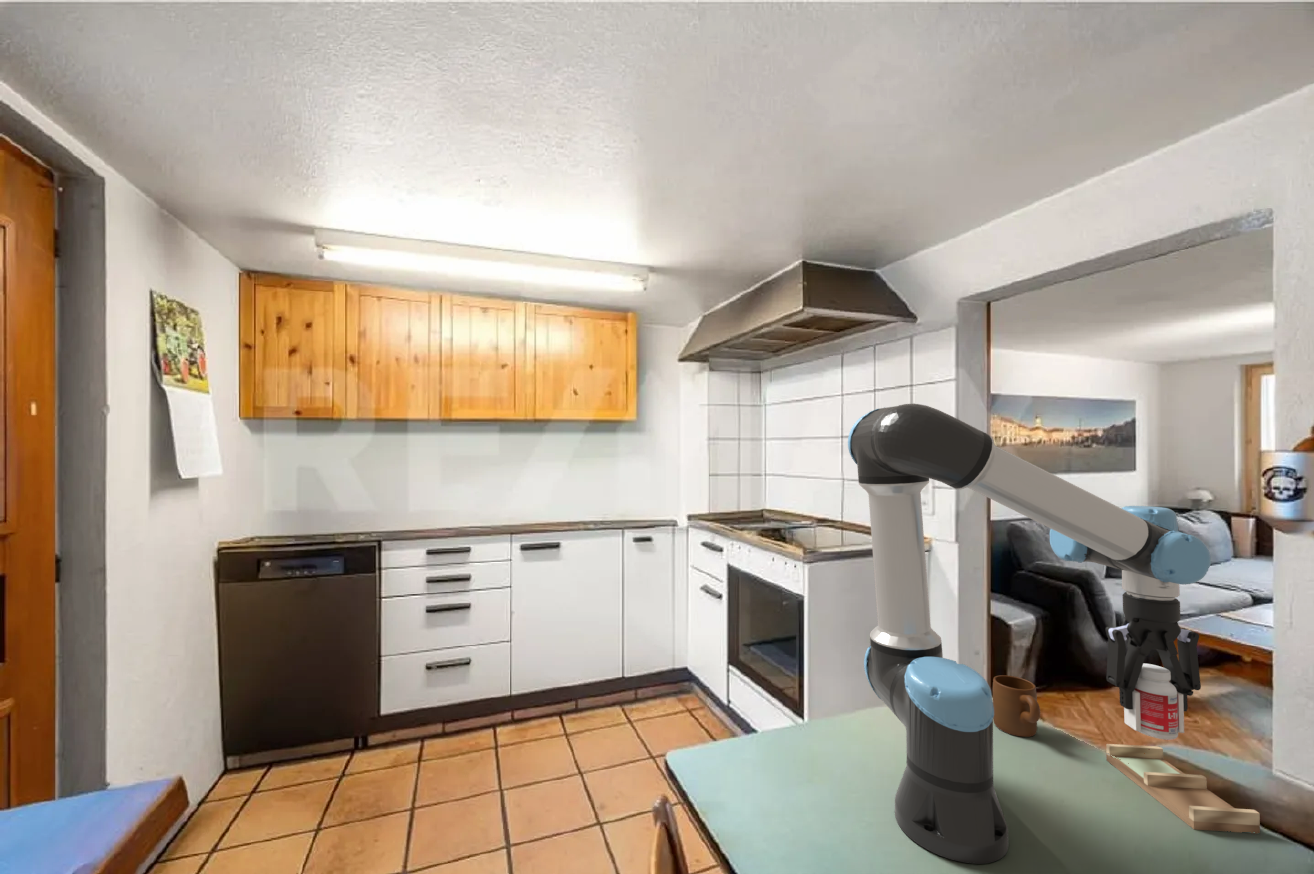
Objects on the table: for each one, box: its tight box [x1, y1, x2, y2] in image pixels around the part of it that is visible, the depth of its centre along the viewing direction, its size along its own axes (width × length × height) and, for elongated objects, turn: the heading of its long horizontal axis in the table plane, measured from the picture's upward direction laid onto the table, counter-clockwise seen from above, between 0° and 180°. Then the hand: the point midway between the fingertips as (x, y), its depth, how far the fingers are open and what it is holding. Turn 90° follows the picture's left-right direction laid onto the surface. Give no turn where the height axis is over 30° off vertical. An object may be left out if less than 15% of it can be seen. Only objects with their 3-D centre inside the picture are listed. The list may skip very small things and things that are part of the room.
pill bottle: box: [1135, 663, 1179, 741], centre depth 96 cm, size 6×6×11 cm
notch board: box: [1105, 743, 1261, 834], centre depth 91 cm, size 9×18×3 cm, turn 174°
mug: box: [992, 674, 1041, 738], centre depth 110 cm, size 12×8×9 cm, turn 174°
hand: (1153, 727), depth 96 cm, fingers closed on pill bottle, 6 cm apart
